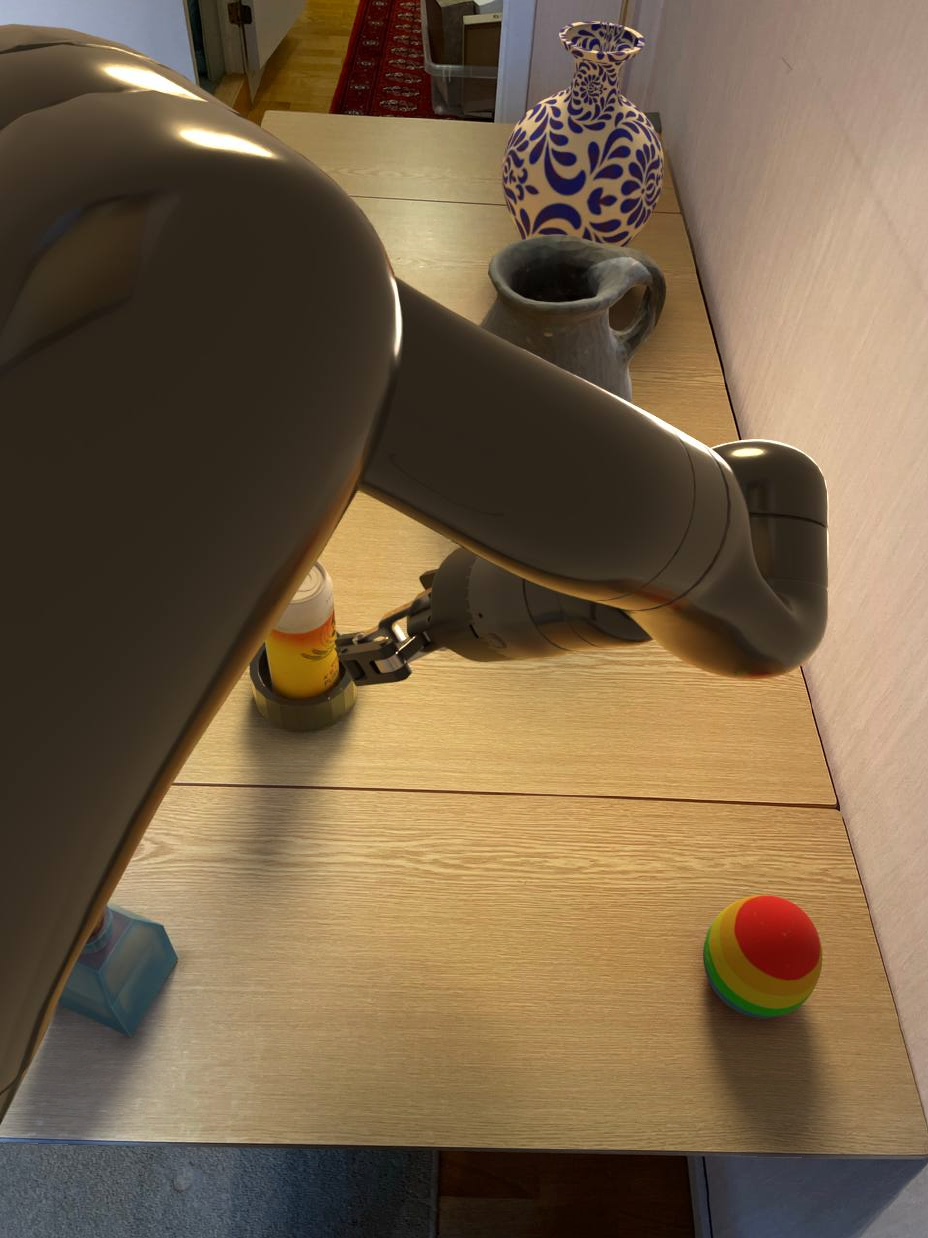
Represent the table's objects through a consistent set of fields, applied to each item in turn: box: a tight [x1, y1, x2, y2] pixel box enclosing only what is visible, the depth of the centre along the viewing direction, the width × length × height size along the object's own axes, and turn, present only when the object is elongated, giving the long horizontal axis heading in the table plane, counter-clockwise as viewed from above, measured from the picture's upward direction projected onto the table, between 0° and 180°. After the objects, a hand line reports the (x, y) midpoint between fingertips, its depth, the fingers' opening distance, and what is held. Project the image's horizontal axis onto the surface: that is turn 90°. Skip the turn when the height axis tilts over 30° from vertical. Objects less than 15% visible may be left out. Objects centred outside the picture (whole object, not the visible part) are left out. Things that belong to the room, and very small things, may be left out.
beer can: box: [265, 560, 340, 700], centre depth 84 cm, size 6×6×15 cm
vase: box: [501, 20, 665, 247], centre depth 130 cm, size 22×22×30 cm
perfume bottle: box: [58, 901, 179, 1038], centre depth 68 cm, size 6×6×12 cm
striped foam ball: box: [702, 894, 823, 1019], centre depth 71 cm, size 8×8×10 cm
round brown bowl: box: [248, 630, 359, 734], centre depth 89 cm, size 9×9×4 cm
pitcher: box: [478, 234, 667, 404], centre depth 104 cm, size 21×22×25 cm
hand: (386, 617), depth 71 cm, fingers open, 8 cm apart
